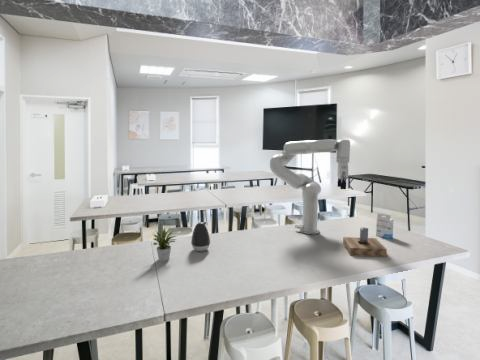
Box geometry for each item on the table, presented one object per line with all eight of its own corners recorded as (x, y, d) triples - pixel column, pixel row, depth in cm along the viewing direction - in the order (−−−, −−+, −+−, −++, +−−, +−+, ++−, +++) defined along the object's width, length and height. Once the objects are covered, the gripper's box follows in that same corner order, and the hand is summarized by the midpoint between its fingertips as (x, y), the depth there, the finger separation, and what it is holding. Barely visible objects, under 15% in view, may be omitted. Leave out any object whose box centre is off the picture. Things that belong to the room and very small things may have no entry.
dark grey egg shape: (213, 248, 172) (213, 221, 170) (203, 254, 163) (203, 226, 161) (198, 245, 176) (197, 219, 175) (187, 251, 167) (187, 223, 165)
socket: (349, 255, 162) (350, 247, 161) (343, 243, 179) (343, 237, 179) (386, 256, 159) (386, 249, 159) (375, 245, 177) (376, 238, 177)
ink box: (393, 237, 191) (394, 214, 189) (389, 239, 188) (390, 215, 186) (379, 234, 197) (380, 211, 196) (375, 235, 194) (376, 212, 192)
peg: (360, 251, 168) (361, 229, 166) (358, 248, 172) (359, 227, 170) (368, 251, 167) (369, 229, 166) (366, 248, 171) (367, 227, 170)
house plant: (162, 268, 145) (161, 234, 143) (142, 262, 152) (140, 229, 150) (183, 258, 157) (182, 227, 155) (163, 253, 164) (162, 223, 162)
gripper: (352, 161, 180) (351, 190, 182) (346, 159, 197) (345, 186, 199) (339, 161, 181) (337, 190, 183) (334, 159, 198) (333, 185, 200)
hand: (341, 187), depth 191 cm, fingers open, 9 cm apart
